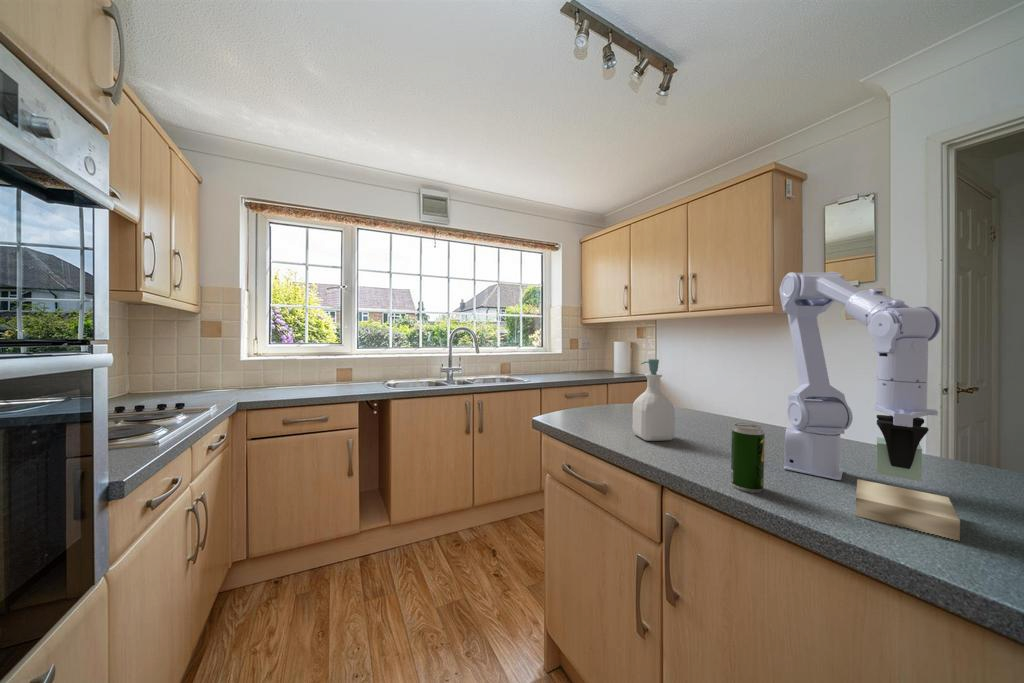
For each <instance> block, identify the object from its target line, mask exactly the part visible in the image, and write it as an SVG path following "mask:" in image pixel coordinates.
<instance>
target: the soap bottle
mask: <svg viewBox="0 0 1024 683" xmlns="http://www.w3.org/2000/svg"><path fill="white" fill-rule="evenodd" d="M659 361H660V360H659V359H657V358H649V359H648V360H647V361H644V362H641V363H640V365H645V364H648V368H649V372H650V373H645V374H644V376H645V377H646V380H647V384H646V385H647V387H646V389H645V391H644V392H643V393H641V394H640V395H639V396H638V397H637V398H636V399H635V400H634V401H633V404H632V432H633V434H634V435H635V436H638V437H639V438H640V439H642V440H644V441H648V442H656V441H657V442H659V441H665V442H666V441H672V440H673V439H674V437H675V421H676V420H675V417H676V415H675V414H676V413H675V412H676V411H675V407H674V405H673V403H672V401H671V400H670V399H669V397H668V396H667V395H666V394H665V393H663V392H662V390H661V388H660V383H661V382H660V381H661V378H662V377H663V374H661V373H658V369H659V363H660V362H659Z"/></svg>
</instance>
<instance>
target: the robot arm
mask: <svg viewBox="0 0 1024 683" xmlns="http://www.w3.org/2000/svg"><path fill="white" fill-rule="evenodd" d="M884 292H885V290H883V289H881V288H868V289H863V290H861V289H860V288H858V287H856V286H855V285H853V284H851V283H850V282H848V281H847V280H846V279H845V276H844V274H842V273H839V272H837V271H828V272H825V271H824V272H795V271H794V272H793V271H791V272H788V273H787V274H786V275H785V276H784V277H783V278H782V281H781V283H780V287H779V296H780V302H781V307H782V311H783V312H784V313H785V314H787V319H788V320H787V321H788V325H789V331H790V337H791V342H792V348H793V354H794V359H795V364H796V370H797V375H798V376H797V377H798V382H799V386H798V387H797V388H795V389H794V390H793V391H791V392H790V394H788V396H787V401H788V404H787V405H788V406H787V411H786V412H787V419H788V421H789V422H790V424H792V426H793V427H792V426H787V427H786V429H785V434H784V435H785V436H784V455H783V458H784V462H783V463H784V466H783V469H785V470H786V471H792V472H798V473H803V474H807V475H811V476H812V475H813V476H816V477H822V478H826V479H832V480H836V481H841V480H842V476H843V474H844V473H843V472H844V470H843V468H841V435H842V434H843V435H845V430H848V429H849V428H850V427H851V425H852V422H853V412H852V409H851V408H850V406H849V404H848V403H847V400H846V395H845V394H844V393H843V392H841V391H840V390H838V389H837V388H835V387H834V386H832V385H831V383H830V379H829V374H828V369H827V364H826V359H825V354H824V350H823V349H824V348H823V344H822V338H821V332H820V328H819V324H818V316H819V315H820V314H823V313H825V312H826V311H827V310H828V309H829V308H830V307H831V306H832V304H833V303H834V302H836V303H839V304H840V305H843V306H845V307H844V308H845V312H846V314H847V315H848V316H849V317H851V318H853V319H854V320H855V321H858V322H860V323H861V324H863V325H864V326H865V327H867V330H868V334H869V336H870V338H871V339H872V343H873V346H872V347H873V349H874V351H875V353H876V352H877V370H876V378H877V379H876V404H875V405H874V409H875V411H877V412H880V413H883V414H876V418H877V419H876V425H877V427H878V429H879V430H880V432H881V433H882V435H883V438H885V441H886V445H887V450H888V456H889V460H890V463H891V466H894V467H900V468H906V469H910V468H911V466H912V463H913V460H914V456H915V453H916V450H917V447H918V445H919V444H920V442H921V441H922V439H924V437H925V436H926V434H928V432H929V431H930V429H929V427H928V426H922V425H924V424H925V419H924V418H923V417H927V416H934V417H935V416H938V415H939V411H938V410H937V409H932V408H928V376H929V375H928V368H929V362H928V361H929V342H931V341H932V340H934V339H935V338H936V337H937V336H938V334H939V333H940V332H941V331H940V330H941V325H942V324H941V318H940V316H939V314H938V313H937V312H936V311H935V310H933V309H932V308H931V307H929V306H926V305H925V306H915V307H910V306H909V305H907V304H905V301H904V300H902V299H894V298H893V297H891V296H888V295H886V294H884ZM885 414H886V415H885Z"/></svg>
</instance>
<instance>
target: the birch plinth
mask: <svg viewBox="0 0 1024 683" xmlns="http://www.w3.org/2000/svg"><path fill="white" fill-rule="evenodd" d="M855 492H856V493H855V517H859V518H860V517H861V518H864V519H868V520H872V521H876V522H878V523H879V522H880V523H883V524H884V523H885V524H888V525H891V524H892V525H891V526H895V525H898V526H897V527H899V526H902V527H901V528H903V527H906V528H905V529H907V528H910V529H909V530H911V529H914V530H913V531H915V530H918V531H917V532H919V531H921V532H920V533H923V532H925V533H924V534H927V533H930V534H929V535H931V534H935V535H939V536H942V537H941V538H943V537H946V538H945V539H947V538H950V539H949V540H951V539H954V540H953V541H955V540H959V541H960V542H961V540H960V539H961V538H960V537H961V520H960V518H959V516H958V514H957V512H956V510H955V507H954V506H953V503H952V502H951V500H950V498H949V497H948V496H944V495H940V494H939V495H938V494H934V493H929V492H924V491H918V490H915V489H910V488H909V489H908V488H905V487H904V488H903V487H899V486H894V485H888V484H884V483H879V482H873V481H870V480H869V481H867V480H864V479H858V478H857V480H856V491H855ZM935 535H934V536H935ZM939 536H938V537H939ZM959 541H958V542H959Z"/></svg>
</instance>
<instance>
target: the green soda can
mask: <svg viewBox="0 0 1024 683" xmlns="http://www.w3.org/2000/svg"><path fill="white" fill-rule="evenodd" d="M765 436H766V435H765V431H764V427H763V426H760V425H758V424H753V423H746V422H745V423H744V422H742V423H741V422H737V423H736V422H735V423H733V424H732V428H731V448H730V450H731V453H730V455H731V456H730V458H731V459H730V463H731V464H730V466H731V467H730V483H731V485H732V487H733V488H735V489H737V490H739V491H741V492H745V493H752V494H754V493H755V494H759V493H761V492H762V491H763V489H764V487H765V485H764V484H765V441H766V440H765V438H766V437H765Z"/></svg>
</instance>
